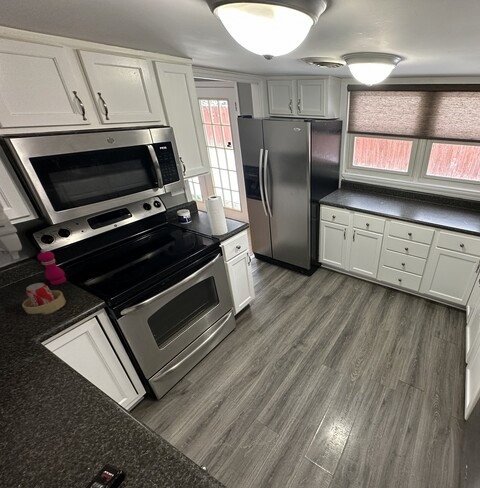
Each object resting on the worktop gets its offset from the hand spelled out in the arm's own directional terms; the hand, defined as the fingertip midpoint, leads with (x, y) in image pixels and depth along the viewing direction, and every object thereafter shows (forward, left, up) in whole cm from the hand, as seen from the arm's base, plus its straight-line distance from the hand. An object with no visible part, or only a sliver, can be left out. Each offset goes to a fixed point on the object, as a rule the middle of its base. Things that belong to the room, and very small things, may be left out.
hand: (11, 256), depth 114 cm
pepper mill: (+15, +16, -27) cm, 35 cm away
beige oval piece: (+1, -6, -27) cm, 28 cm away
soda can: (+1, -6, -27) cm, 27 cm away
